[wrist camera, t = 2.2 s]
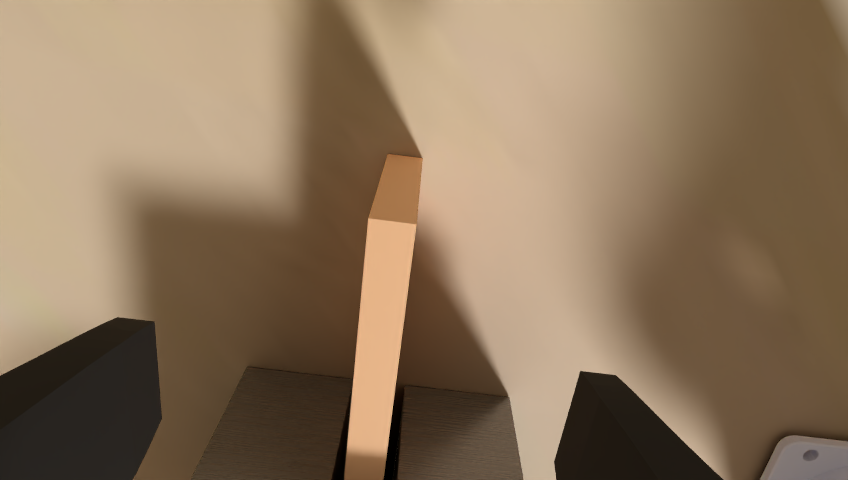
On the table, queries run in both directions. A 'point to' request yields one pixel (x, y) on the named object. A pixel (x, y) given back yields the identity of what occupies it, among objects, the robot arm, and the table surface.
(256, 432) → the dispenser
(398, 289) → the long wooden plank
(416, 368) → the table surface
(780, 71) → the table surface
